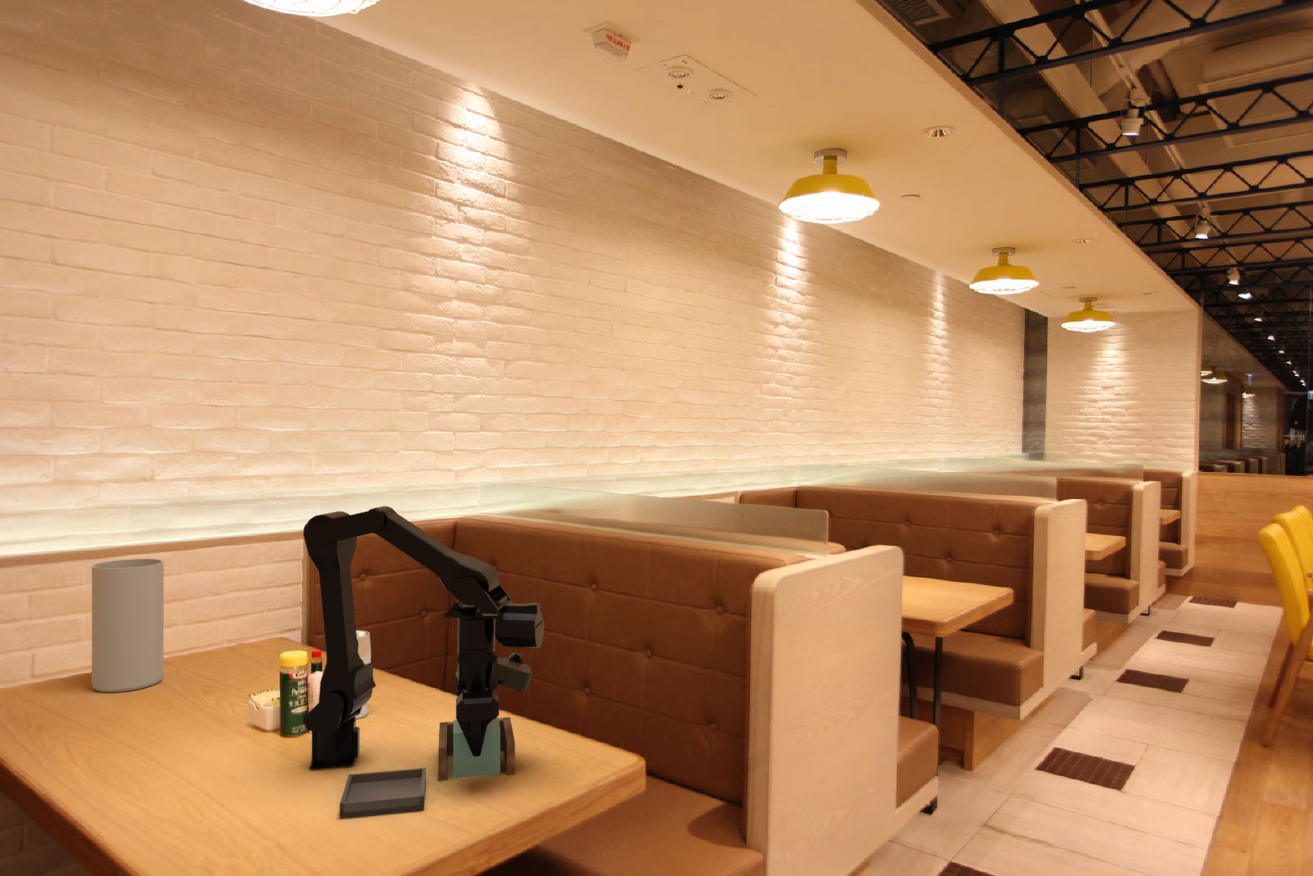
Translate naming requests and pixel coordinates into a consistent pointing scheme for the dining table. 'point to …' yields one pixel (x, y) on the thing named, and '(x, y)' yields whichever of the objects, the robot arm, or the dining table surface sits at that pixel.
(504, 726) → the frame
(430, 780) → the dining table surface
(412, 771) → the gray tray
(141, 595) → the cylinder vase
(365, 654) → the beer glass
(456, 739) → the teal block
